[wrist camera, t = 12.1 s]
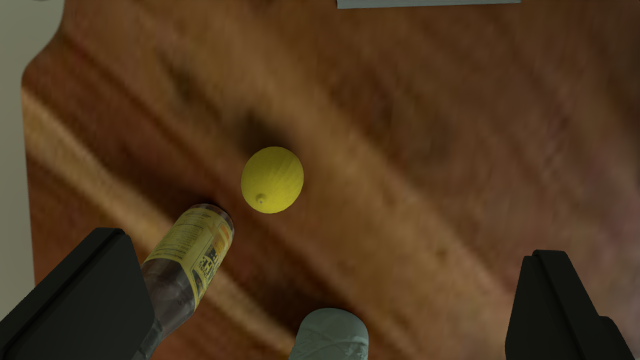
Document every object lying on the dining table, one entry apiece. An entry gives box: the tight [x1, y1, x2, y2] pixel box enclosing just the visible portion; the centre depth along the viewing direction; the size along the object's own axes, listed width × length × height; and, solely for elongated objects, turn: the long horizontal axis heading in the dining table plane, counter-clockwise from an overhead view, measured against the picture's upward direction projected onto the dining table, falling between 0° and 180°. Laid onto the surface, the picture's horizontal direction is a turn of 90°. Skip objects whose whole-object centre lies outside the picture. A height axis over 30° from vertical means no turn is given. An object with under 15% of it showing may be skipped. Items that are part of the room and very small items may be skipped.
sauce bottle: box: [132, 204, 234, 360], centre depth 41 cm, size 7×6×20 cm
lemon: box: [241, 147, 304, 213], centre depth 40 cm, size 6×6×8 cm
